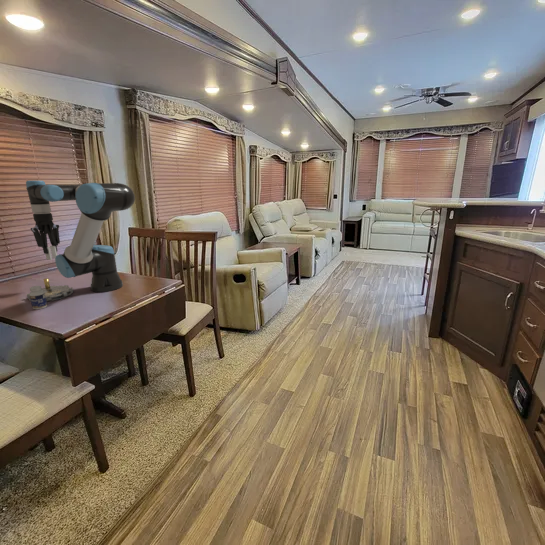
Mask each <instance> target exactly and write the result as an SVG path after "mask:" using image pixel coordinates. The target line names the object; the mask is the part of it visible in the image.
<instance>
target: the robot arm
mask: <svg viewBox="0 0 545 545" xmlns="http://www.w3.org/2000/svg"><path fill="white" fill-rule="evenodd" d="M25 186H26V192H27V194H28V195H27V196H28V199H29V203H30V208H31V212H32V213H33V214H32V216H33V220H34V222H35V224H34V225H35V226H34V227H30V230H31V232H32V234H33V236H34V239H35V242H36V246H37V247H38V248H42V250H43V254H44V255H45V258H46V260H47V261H48V260H49V261H52V260H53V259H54V261H55V265H56V268H57V269H58V272H59V273H60V274H61V275H62V276H63V277H64V278H67V279H69V278H70V279H71V278H76V277H78V276H83V275H87V274H91V273H92V276H91V283H90V290H91V291H92V292H96V293H105V292H111V291H115V290H117V289H120V288H122V287H123V286H124V283H123V280H122V279H121V277H120V275H119V273H118V270H117V262H116V258H115V257H116V256H115V255H116V254H115V250H114V248H113V246H111V245H107V244H105V245H104V244H96V241H97V239H98V236H99V234H100V231H101V229H102V226H103V224H104V221H108V220H109V219H110V218H111V215H112V213H113V212H120V211H121V212H122V211H126V210H128V209H130V208H131V207H132V206H133V205H134V203H135V201H136V196H135V192H134V190H133V189H132V188H131V187H130V186H128V185H127V184H124V183H119V182H113V183H111V182H107V183H106V182H105V183H101V182H100V183H98V182H89V183H88V182H87V183H83V184H46V182H45V181H44V180H26V181H25ZM64 201H65V202H66V201H75V203H76V206H77V208H78V210H79V211H80V213H81V214H80V216H79V220H78V223H77V225H76V228H75V231H74V234H73V237H72V240H71V242H70V244H69V245H68V246H67V247H66V248H65V249H64V252H63V253H62V254H61V253H58V247H57V246H59V245H60V243H61V242H60V232H59V229H60V225H59V224H55V223H54V221H53V220H54V218H53V214H52V213H51V212H52V208H51V204H50V202H51V203H53V202H54V203H55V202H64ZM48 239H49V243H50V245H49V246H50V247H49V246H48Z"/></svg>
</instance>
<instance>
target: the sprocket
mask: <svg viewBox="0 0 545 545" xmlns="http://www.w3.org/2000/svg"><path fill="white" fill-rule="evenodd" d="M43 284H44V287H41V288H42V289H41V290H43V291H44V293H45V297H46V300H47V301H48V300H52V299H55V298H59V297H62V296H63V297H65V296H67V294H69V293H70V292H73V293H74V288H73V287H70V286H69V285H68V284H64V285H51V284H50V280H49V278H43ZM26 294H27V295H26V297H27V299H29V298H30V296H29V293H26ZM67 297H68V296H67ZM65 298H66V297H65Z"/></svg>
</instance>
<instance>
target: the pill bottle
mask: <svg viewBox="0 0 545 545" xmlns="http://www.w3.org/2000/svg"><path fill="white" fill-rule="evenodd" d="M42 288H43V287H42V286H41V285H35V286H31V287H29V291H30V292H29V293H28V294H29V296H30V300H31V301H30V302H31V307H32V310H40V309H41V310H42V309H45V308H46V307H48V302H47V301H46V297H45V293H44V291H43V290H41V289H42Z"/></svg>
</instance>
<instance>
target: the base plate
mask: <svg viewBox="0 0 545 545" xmlns="http://www.w3.org/2000/svg"><path fill="white" fill-rule="evenodd" d="M73 293H74V291H73V292H70V293H69V294H67V296H65V297H63V296H62V297H59V298H55V299H52V300H48V301H47V300H46V301H47V303H48V302H53V301H58V300H62V299H65V298H68V297H70V296H71V295H72V294H73ZM28 301H29V302H31V300H30V298H28Z"/></svg>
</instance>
